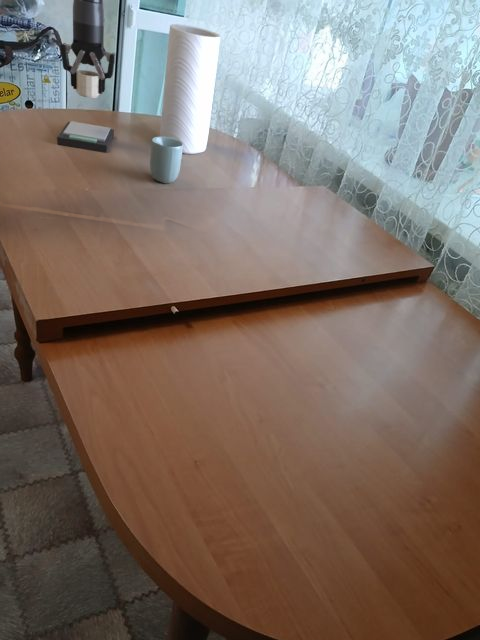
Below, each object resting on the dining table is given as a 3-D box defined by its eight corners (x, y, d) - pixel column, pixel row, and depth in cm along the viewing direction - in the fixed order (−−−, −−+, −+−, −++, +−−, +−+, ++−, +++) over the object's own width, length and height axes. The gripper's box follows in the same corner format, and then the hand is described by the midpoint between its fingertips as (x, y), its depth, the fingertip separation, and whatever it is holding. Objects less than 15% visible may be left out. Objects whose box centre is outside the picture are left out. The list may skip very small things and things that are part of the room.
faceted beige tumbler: (74, 95, 145) (74, 73, 142) (78, 90, 150) (78, 68, 147) (97, 99, 147) (97, 77, 143) (101, 94, 151) (101, 73, 148)
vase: (215, 152, 169) (232, 38, 150) (181, 157, 159) (194, 36, 140) (184, 136, 175) (196, 25, 156) (149, 140, 165) (157, 22, 147)
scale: (57, 144, 148) (57, 134, 146) (68, 128, 160) (68, 119, 158) (106, 152, 150) (106, 143, 149) (113, 136, 162) (114, 127, 160)
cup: (170, 188, 139) (174, 149, 133) (143, 179, 140) (146, 140, 134) (183, 180, 145) (188, 142, 139) (157, 172, 146) (160, 134, 140)
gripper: (55, 16, 134) (57, 89, 144) (115, 28, 136) (113, 99, 146) (62, 12, 140) (63, 82, 149) (119, 24, 142) (117, 92, 152)
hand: (88, 90), depth 148 cm, fingers closed on faceted beige tumbler, 6 cm apart
